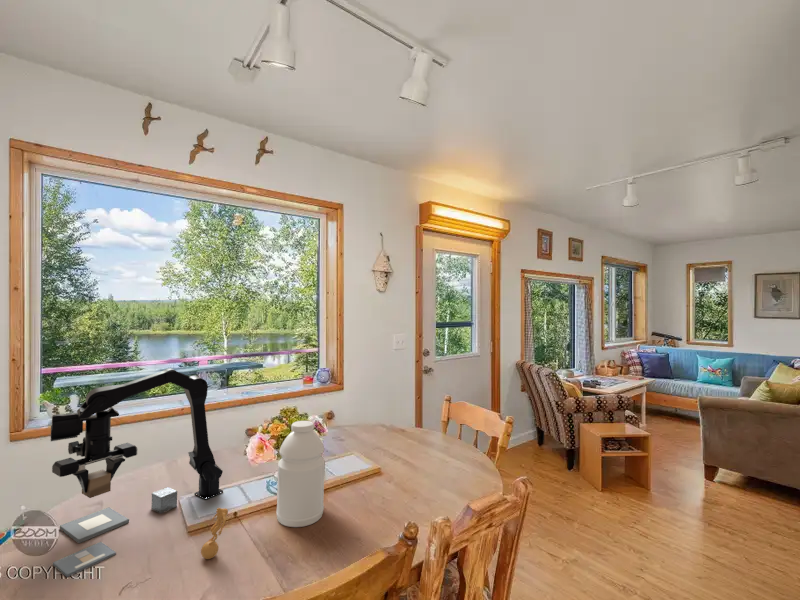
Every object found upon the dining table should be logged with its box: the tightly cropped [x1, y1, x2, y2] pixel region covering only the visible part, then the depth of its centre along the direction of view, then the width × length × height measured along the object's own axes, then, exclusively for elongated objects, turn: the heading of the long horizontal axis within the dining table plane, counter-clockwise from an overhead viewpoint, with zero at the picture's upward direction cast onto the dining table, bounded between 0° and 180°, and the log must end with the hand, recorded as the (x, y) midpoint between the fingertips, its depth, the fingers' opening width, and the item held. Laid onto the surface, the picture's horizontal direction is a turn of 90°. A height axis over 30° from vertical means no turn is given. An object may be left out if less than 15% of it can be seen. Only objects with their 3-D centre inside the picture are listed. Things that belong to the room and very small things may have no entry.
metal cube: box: [150, 486, 178, 514], centre depth 123 cm, size 5×5×5 cm
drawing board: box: [52, 541, 117, 578], centre depth 98 cm, size 8×10×1 cm
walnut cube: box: [81, 469, 112, 499], centre depth 113 cm, size 5×5×5 cm
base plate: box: [59, 507, 130, 544], centre depth 113 cm, size 12×12×1 cm
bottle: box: [275, 420, 326, 528], centre depth 121 cm, size 14×14×28 cm
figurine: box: [200, 507, 229, 560], centre depth 101 cm, size 8×6×12 cm
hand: (96, 488), depth 113 cm, fingers closed on walnut cube, 5 cm apart
